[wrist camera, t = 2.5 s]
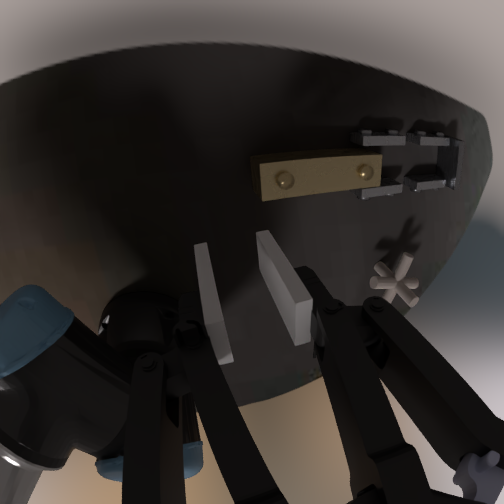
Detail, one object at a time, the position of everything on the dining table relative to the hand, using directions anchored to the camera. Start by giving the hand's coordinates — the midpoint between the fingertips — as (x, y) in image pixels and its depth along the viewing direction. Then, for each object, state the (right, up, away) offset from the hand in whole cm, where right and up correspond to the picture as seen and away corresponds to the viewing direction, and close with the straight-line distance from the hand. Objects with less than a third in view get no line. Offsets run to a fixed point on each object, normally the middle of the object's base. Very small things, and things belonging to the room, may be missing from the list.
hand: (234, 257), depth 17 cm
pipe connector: (+22, -2, +27) cm, 35 cm away
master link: (+8, +11, +16) cm, 21 cm away
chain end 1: (+28, +15, +19) cm, 37 cm away
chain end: (+17, +13, +17) cm, 27 cm away
